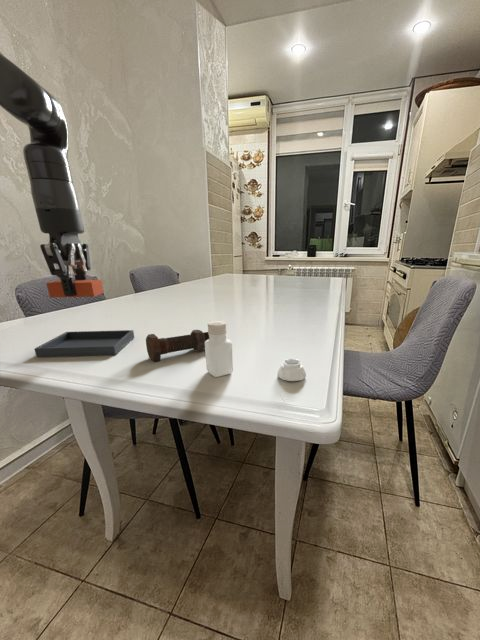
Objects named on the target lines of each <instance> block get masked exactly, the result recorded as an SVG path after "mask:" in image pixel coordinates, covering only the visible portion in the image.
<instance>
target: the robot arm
mask: <svg viewBox="0 0 480 640" xmlns="http://www.w3.org/2000/svg"><path fill="white" fill-rule="evenodd" d="M0 107H1V108H2V109H3V110H5V111H6V112H7V113H8V114H9V115H10V116H12V117H13V118H15V119H16V120H18V121H19V122H20V123H22V124H24V125H26V127H27V128H28V131H29V141H30V142H29V143H26V144H25V145H24V146H23V149H22V155H23V160H24V164H25V168H26V172H27V175H28V180H29V184H30V193H31V198H32V202H33V205H34V209H35V210H34V211H35V213H36V218H37V221H38V225H39V229H40V232H41V233H43V234H48V236H49V237H48V238H49V240H48V241H49V243H41V244H40V247H39V248H40V251H41V252H42V255H43V258H44V260H45V263H46V265H47V269H48V270H49V273H50V275H51V276H56V277H57V278H59V280H61V283H62V287H63V291H64V295H65V296H75V295H76V294H77V293H76V288H75V284H74V280H88V277H87V275H88V271H91V259H90V248H89V244H88V243H82V242H81V240H80V238H79V235H82V234H84V233H85V227H84V222H83V218H82V213H81V209H80V208H81V207H80V203H79V198H78V194H77V191H76V188H75V185H74V181H73V175H72V170H71V166H70V163H69V158H68V156H69V132H68V131H69V130H68V124H67V118H66V116H65V112H64V109H63V107H62V105H61V104H60V102H59V101H58V99H57V98H56V97H54V96H53V95H52V94H51V92H49V91H47V89H45V88H44V87H43V86H42V85H41V84H40V83H38V82H37V81H36V80H35V79H33V77H31V76H30V75H29V74H27V73H26V72H25V71H24V70H23V69H21V68H20V67H19V66H17V64H16V63H14V62H13V61H11V60H10V59H9V58H7V57H6V56H5V55H4V53H2V52H1V51H0ZM73 274H74V275H73ZM73 276H74V277H73Z"/></svg>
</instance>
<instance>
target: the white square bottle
mask: <svg viewBox="0 0 480 640" xmlns="http://www.w3.org/2000/svg"><path fill="white" fill-rule="evenodd" d="M207 332H208V334H209V339H208V340H206V341H205V349H204V351H205V352H204V354H205V365H206V367H205V368H206V371H207V373H208V374H210V375H211V376H212V377H213V378H218V377H222V376H227V375H231V374H232V373H233V372H234V362H233V361H234V360H233V344H232V343H233V342H232V341H231V340H230V339H228V338H227V332H228V331H227V323H226V321H224V320H212V321H209V322H208V323H207Z"/></svg>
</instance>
